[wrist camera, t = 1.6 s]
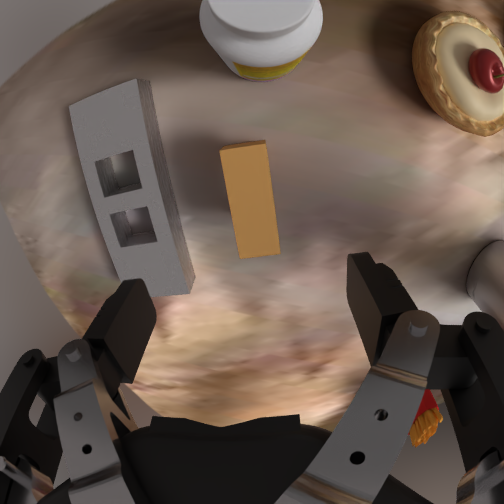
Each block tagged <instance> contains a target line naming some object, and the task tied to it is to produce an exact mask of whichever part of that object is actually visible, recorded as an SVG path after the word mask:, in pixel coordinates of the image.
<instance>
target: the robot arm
mask: <svg viewBox="0 0 504 504" xmlns="http://www.w3.org/2000/svg"><path fill="white" fill-rule="evenodd" d="M467 292H468V294H469V296H470V297H471V298H472V300H473V301H474V302H475V303H476V305H477V306H478V307H479V308H480V310H481V311H482V312H472V313H470V314H468V315H467V316H466V317H465V319H464V322H463V324H462V325H441V324H439V322H438V320H437V319H436V318H435V317H434V316H433V315H432V314H430V313H428V312H425V311H422V310H418V308H417V307H416V305H415V303H414V302H413V300H412V299H411V297H410V296H409V294H408V292H407V291H406V289H405V288H404V287H403V286H402V283H401V282H400V280H398V277H397V276H396V274H395V273H394V271H393V270H392V269H391V268H389V267H388V266H386V265H385V264H383V263H378V264H376V263H375V262H374V260H373V259H372V257H371V256H370V254H369V253H368V252H362V253H354V254H349V255H348V258H347V299H348V304H349V307H350V309H351V312H352V314H353V317H354V320H355V322H356V325H357V328H358V331H359V333H360V336H361V339H362V342H363V345H364V348H365V350H366V353H367V356H368V359H369V362H370V365H371V369H370V370H369V372H368V374H367V376H366V378H365V379H364V381H363V383H362V385H361V387H360V388H359V390H358V392H357V394H356V395H355V397H354V399H353V401H352V402H351V404H350V406H349V407H348V409H347V411H346V412H345V414H344V415H343V417H342V419H341V420H340V422H339V423H338V425H337V426H336V428H335V429H334V431H333V432H331V431H328V430H326V429H323V428H320V427H316V426H312V425H306V424H300V415H299V414H297V415H287V416H276V417H263V418H257V419H254V420H250V421H246V422H242V423H238V424H234V425H230V426H225V427H216V426H212V425H208V424H204V423H200V422H197V421H193V420H189V419H186V418H171V417H157V416H153V417H152V420H151V424H150V426H147V427H143V428H139V429H138V427H137V425H136V424H135V421H134V419H133V417H132V414H131V412H130V410H129V408H128V405H127V403H126V401H125V398H124V396H123V393H122V391H121V390H120V389H119V386H120V383H130V384H132V383H133V381H134V378H135V375H136V372H137V370H138V367H139V364H140V362H141V359H142V357H143V354H144V351H145V349H146V346H147V344H148V341H149V339H150V336H151V334H152V331H153V329H154V326H155V324H156V310H155V307H154V304H153V302H152V300H151V297H150V295H149V292H148V290H147V287H146V285H145V282H144V281H143V279H141V278H137V279H128V280H124V281H123V282H122V283H121V285H120V286H119V288H118V289H117V291H116V292H115V293H114V294H113V295H111V296H110V297H109V298H108V299H107V300H106V301H105V303H104V304H103V306H102V307H101V310H99V312H98V314H97V315H96V316H97V317H95V318H94V320H93V322H92V323H91V325H90V326H89V328H88V330H87V331H86V333H85V335H84V336H83V338H82V339H75V340H72V341H71V342H68V343H67V344H65V345H64V346H63V347H62V349H61V350H60V351H59V353H58V356H56V357H51V358H47V359H46V357H45V356H44V354H43V353H42V352H41V350H39V349H32V350H29V351H27V352H26V353H25V354H24V355H22V357H21V358H20V359H19V361H18V362H17V365H16V366H15V367H14V370H13V371H12V373H11V374H10V376H9V378H8V380H7V382H6V384H5V385H4V387H3V389H2V391H1V393H0V504H433V503H432V502H430V501H429V500H427V499H425V498H424V497H422V496H421V495H419V494H418V493H416V492H415V491H413V490H412V489H410V488H409V487H407V486H406V485H404V484H403V483H401V482H400V481H399V480H397V479H396V478H394V477H393V476H392V475H390V474H389V473H390V471H391V469H392V467H393V465H394V463H395V461H396V459H397V457H398V455H399V453H400V451H401V449H402V447H403V444H404V442H405V440H406V438H407V435H408V433H409V431H410V428H411V426H412V424H413V421H414V419H415V416H416V414H417V411H418V408H419V406H420V403H421V400H422V398H423V395H424V392H425V389H440V390H441V392H442V395H443V398H444V401H445V403H446V406H447V409H448V412H449V415H450V418H451V421H452V424H453V427H454V431H455V434H456V437H457V441H458V444H459V448H460V451H461V455H462V459H463V463H464V467H465V470H466V473H465V474H464V476H463V477H462V478H461V480H460V482H459V484H458V487H457V500H456V504H504V241H501V240H500V241H495V242H493V243H491V244H490V245H488V246H487V247H486V248H485V249H484V250H482V251H481V253H480V254H479V255H478V256H477V258H476V259H475V261H474V263H473V265H472V267H471V269H470V271H469V274H468V278H467ZM37 394H38V396H39V397H40V398H41V399H42V400H43V401H44V402H45V403H46V405H45V407H44V409H43V412H42V414H41V417H40V419H39V422H38V424H37V427H35V426H34V425H33V424H32V423H31V421H30V419H29V410H30V407H31V405H32V403H33V401H34V399H35V396H36V395H37ZM62 453H64V457H65V461H66V465H67V469H68V472H69V476H70V478H69V479H67V480H66V481H65V482H63V483H62V484H61V485H59V486H58V487H57V488H56V489H54V490H53V484H54V481H55V477H56V473H57V470H58V466H59V463H60V459H61V456H62Z"/></svg>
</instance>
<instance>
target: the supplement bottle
mask: <svg viewBox="0 0 504 504" xmlns="http://www.w3.org/2000/svg"><path fill="white" fill-rule="evenodd" d="M199 18H200V25H201V29H202V32H203V34H204V36H205V38H206V39H207V41H208V42H209V44H210V45H211V46H212V47H213V49H214V50H215V51H216V52H217V53H218V55H219V56H220V57H221V58H222V60H223V61H224V62H225V63H226V65H227V66H228V67H229V68H230V69H231V70H232V71H233V72H234V73H235V74H237V75H239V76H240V77H242V78H245V79H247V80H251V81H256V82H268V81H274V80H277V79H280V78H282V77H284V76H286V75H287V74H289V73H290V72H291V71H292V70H293V69H294V68H295V67H296V66H297V65H298V64H299V62H300V61H301V60H302V58H303V57H304V56H305V54H306V53H307V52H308V51H309V49H310V48H311V47H312V46H313V44H314V43H315V41H316V39H317V38H318V36H319V34H320V31H321V28H322V22H323V15H322V8H321V5H320V2H319V0H203V1H202V4H201V7H200V15H199Z"/></svg>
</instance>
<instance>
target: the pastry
mask: <svg viewBox="0 0 504 504" xmlns="http://www.w3.org/2000/svg"><path fill="white" fill-rule="evenodd" d="M412 65H413V72H414V75H415V79H416V82H417V84H418V87H419V89H420V91H421V93H422V95H423V97H424V98H425V100H426V101H427V103H428V104H429V105H430V106H431V108H432V109H433V110H434V111H435V112H436V113H437V114H438V115H439V116H441V117H442V118H443V119H444V120H445V121H446V122H448V123H449V124H451V125H453V126H454V127H456V128H458V129H461V130H463V131H466V132H470V133H473V134H477V135H480V136H484V137H486V136H491V135H493V134H495V133H497V132H499V131H500V130H502V129H503V128H504V47H503V46H502V45H501V43H500V40H499V39H498V37H497V36H496V35H495V34H494V33H493V32H492V31H491V30H490V29H489V28H488V27H487V26H486V25H485V24H484V23H483V22H481V21H480V20H478V19H477V18H475V17H473V16H471V15H469V14H467V13H463V12H460V11H445V12H442V13H440V14H438V15H436V16H434V17H432V18H431V19H429V20H428V21H427V22H425V23H424V24H423V25H422V27H421V28H420V30H419V31H418V33H417V35H416V37H415V40H414V43H413V48H412Z"/></svg>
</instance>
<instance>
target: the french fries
mask: <svg viewBox="0 0 504 504" xmlns="http://www.w3.org/2000/svg"><path fill="white" fill-rule="evenodd" d="M438 410H439V408H438V406H437V404H436V401H435V399H434V397H433V395H432V393H431V391H430V389H425V392H424V395H423V398H422V400H421V403H420V406H419V408H418V411H417V414H416V416H415V419H414V421H413V424H412V426H411V428H410V431H409V433H408V435H410V437H411V441H412V445H413V446H414V445H415V447H417V446H418V445H419V444H421V443H422V442H424V444H425V443H426V442H427V441H428V438H429V437H430V436H432V435H434V433H435V432H436V428H437V424H438V421H439V422H440V423H441V421H442V420H443V417H442V415H441V414H440V412H439V411H438Z"/></svg>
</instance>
